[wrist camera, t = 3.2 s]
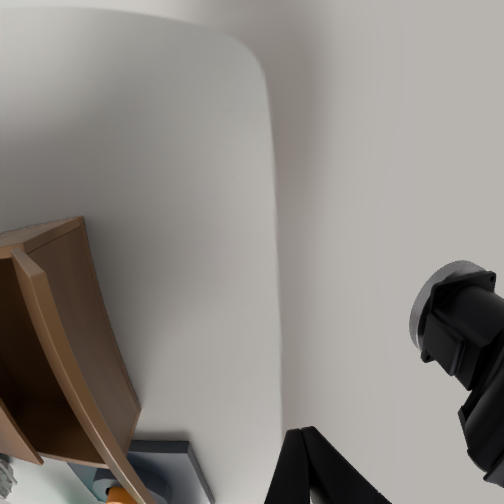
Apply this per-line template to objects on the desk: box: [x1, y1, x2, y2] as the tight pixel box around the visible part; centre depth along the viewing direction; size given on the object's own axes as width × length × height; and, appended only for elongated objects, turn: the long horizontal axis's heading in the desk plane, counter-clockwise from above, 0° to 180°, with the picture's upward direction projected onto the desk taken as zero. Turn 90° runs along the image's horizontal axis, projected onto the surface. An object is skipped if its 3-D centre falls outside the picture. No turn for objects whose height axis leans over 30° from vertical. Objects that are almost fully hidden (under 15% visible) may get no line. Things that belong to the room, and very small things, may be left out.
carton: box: [0, 216, 141, 469], centre depth 14 cm, size 11×13×6 cm
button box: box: [67, 440, 215, 504], centre depth 19 cm, size 12×10×3 cm
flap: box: [10, 247, 157, 504], centre depth 9 cm, size 5×13×1 cm
